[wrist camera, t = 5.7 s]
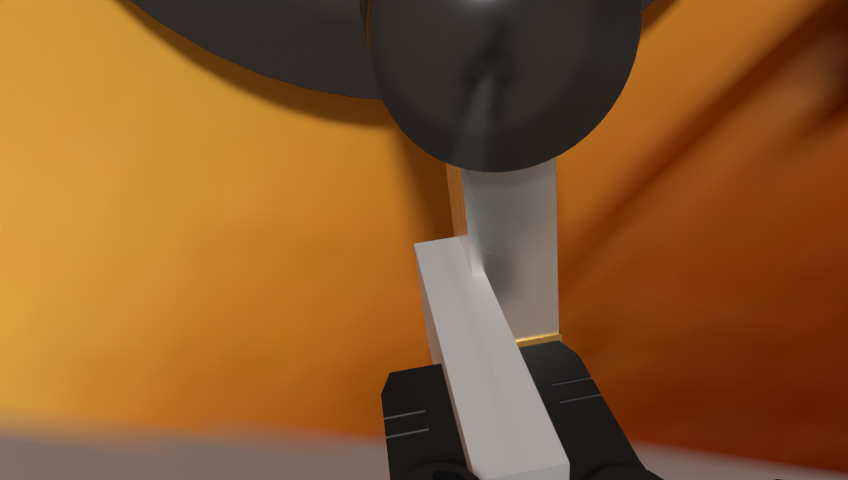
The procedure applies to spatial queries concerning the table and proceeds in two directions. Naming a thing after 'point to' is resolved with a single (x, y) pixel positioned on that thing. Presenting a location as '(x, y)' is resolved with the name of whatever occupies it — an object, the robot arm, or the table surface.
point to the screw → (503, 120)
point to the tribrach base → (282, 39)
